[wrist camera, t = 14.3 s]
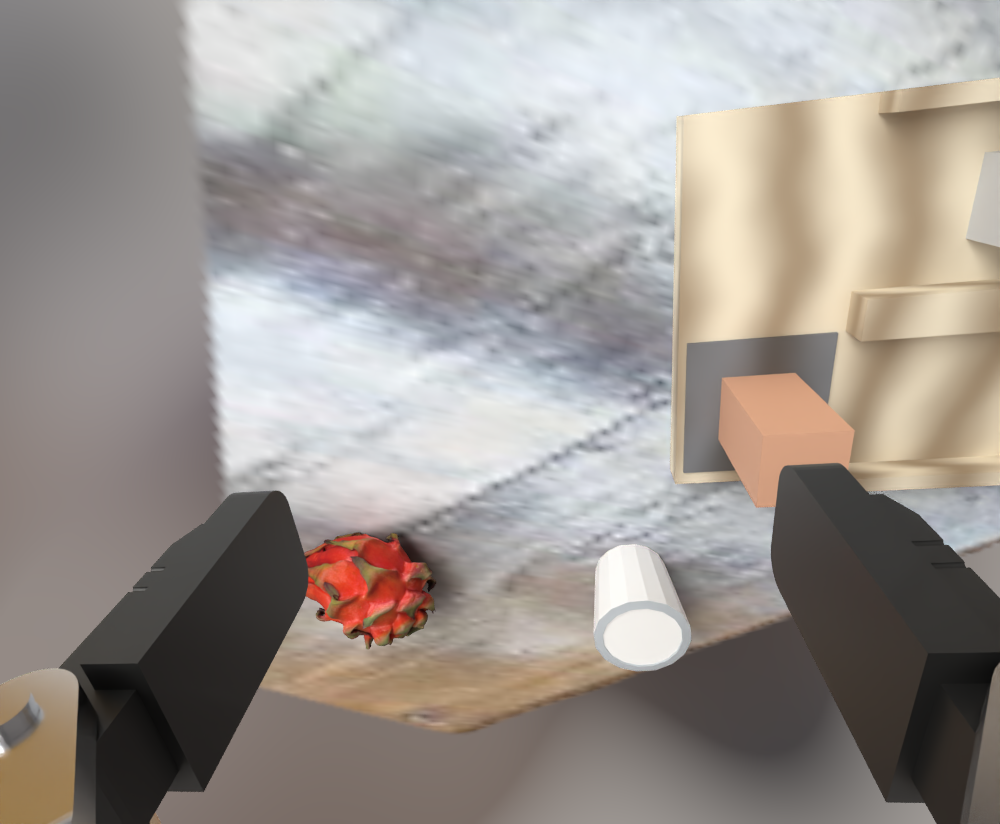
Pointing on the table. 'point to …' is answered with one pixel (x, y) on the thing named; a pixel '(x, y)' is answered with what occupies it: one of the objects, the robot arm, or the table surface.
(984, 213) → the grey block
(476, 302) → the table surface
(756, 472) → the terracotta block
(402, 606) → the dragon fruit
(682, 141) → the wooden divided tray
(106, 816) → the robot arm
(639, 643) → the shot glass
